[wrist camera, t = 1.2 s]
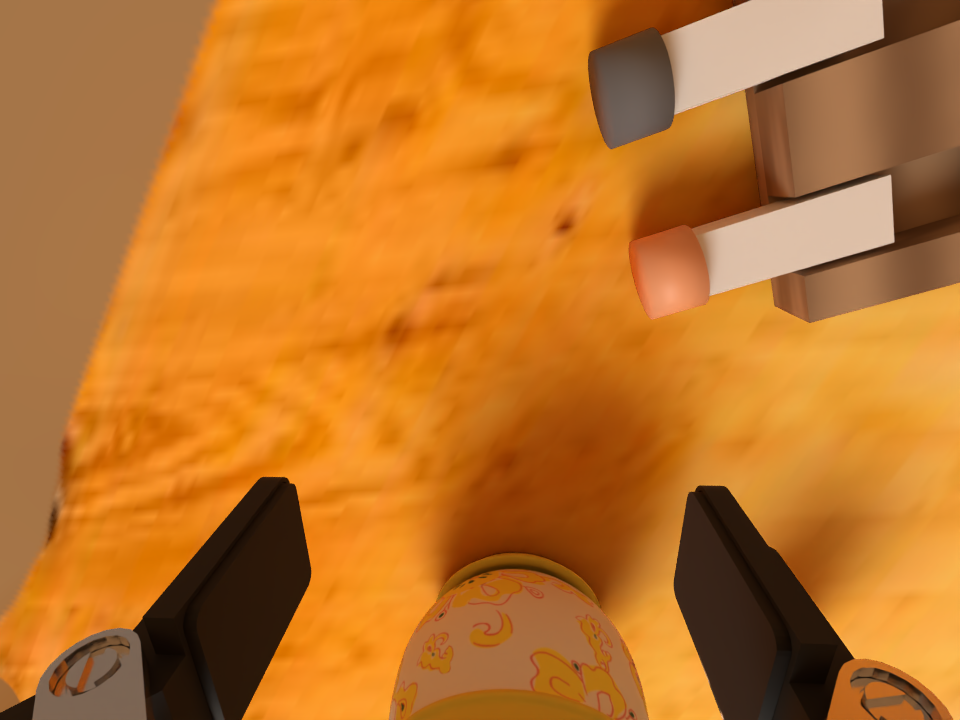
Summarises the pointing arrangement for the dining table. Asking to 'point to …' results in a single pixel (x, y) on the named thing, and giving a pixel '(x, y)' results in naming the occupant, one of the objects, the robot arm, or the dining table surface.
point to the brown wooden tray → (871, 155)
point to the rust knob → (760, 244)
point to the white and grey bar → (719, 59)
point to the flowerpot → (517, 650)
